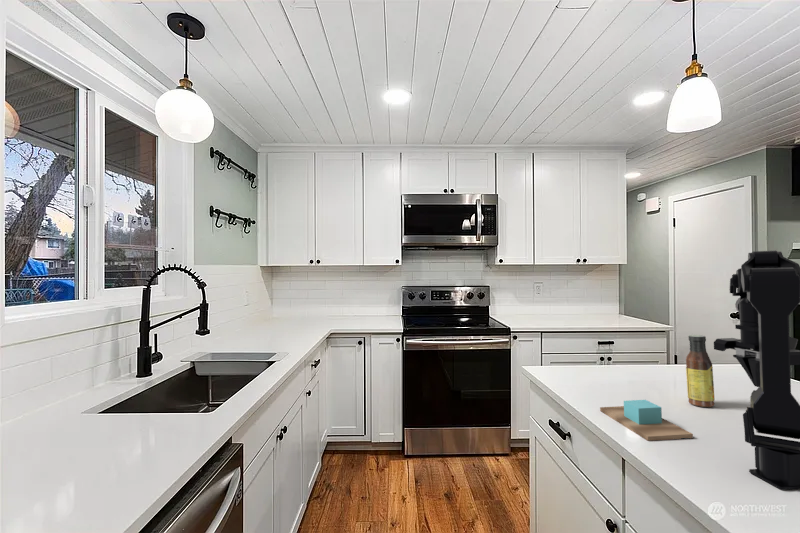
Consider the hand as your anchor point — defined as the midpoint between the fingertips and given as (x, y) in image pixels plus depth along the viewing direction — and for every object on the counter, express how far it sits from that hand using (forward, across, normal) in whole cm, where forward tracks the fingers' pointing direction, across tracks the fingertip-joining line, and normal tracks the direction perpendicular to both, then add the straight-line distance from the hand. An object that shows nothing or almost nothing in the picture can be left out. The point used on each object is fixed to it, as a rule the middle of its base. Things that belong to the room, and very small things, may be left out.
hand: (758, 386), depth 96 cm
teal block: (+10, +9, +23) cm, 27 cm away
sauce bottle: (+11, +20, -2) cm, 23 cm away
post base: (+11, +9, +23) cm, 27 cm away
